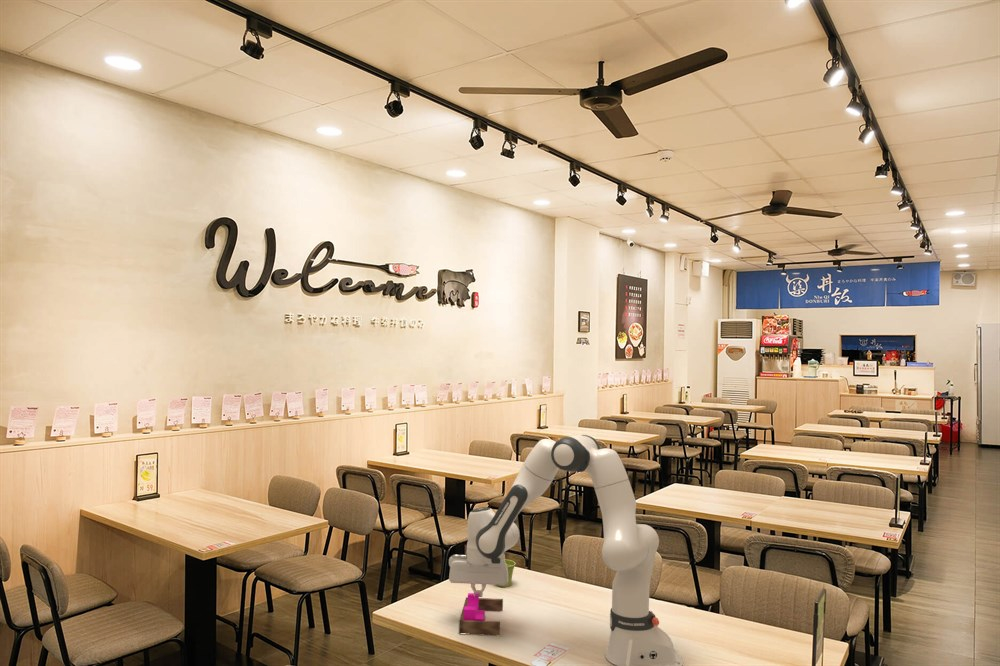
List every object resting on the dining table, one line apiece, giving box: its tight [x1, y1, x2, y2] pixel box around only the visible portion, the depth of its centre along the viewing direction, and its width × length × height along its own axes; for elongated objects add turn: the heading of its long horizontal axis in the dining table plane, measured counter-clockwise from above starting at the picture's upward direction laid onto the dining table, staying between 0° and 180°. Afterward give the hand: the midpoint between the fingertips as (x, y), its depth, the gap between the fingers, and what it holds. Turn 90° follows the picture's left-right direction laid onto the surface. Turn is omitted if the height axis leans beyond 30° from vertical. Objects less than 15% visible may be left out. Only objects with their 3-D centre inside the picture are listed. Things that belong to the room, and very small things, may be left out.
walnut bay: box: [458, 596, 504, 636], centre depth 227 cm, size 13×21×4 cm, turn 177°
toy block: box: [463, 592, 486, 621], centre depth 226 cm, size 15×6×8 cm, turn 177°
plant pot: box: [495, 558, 517, 588], centre depth 264 cm, size 9×9×9 cm
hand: (478, 596), depth 227 cm, fingers closed
